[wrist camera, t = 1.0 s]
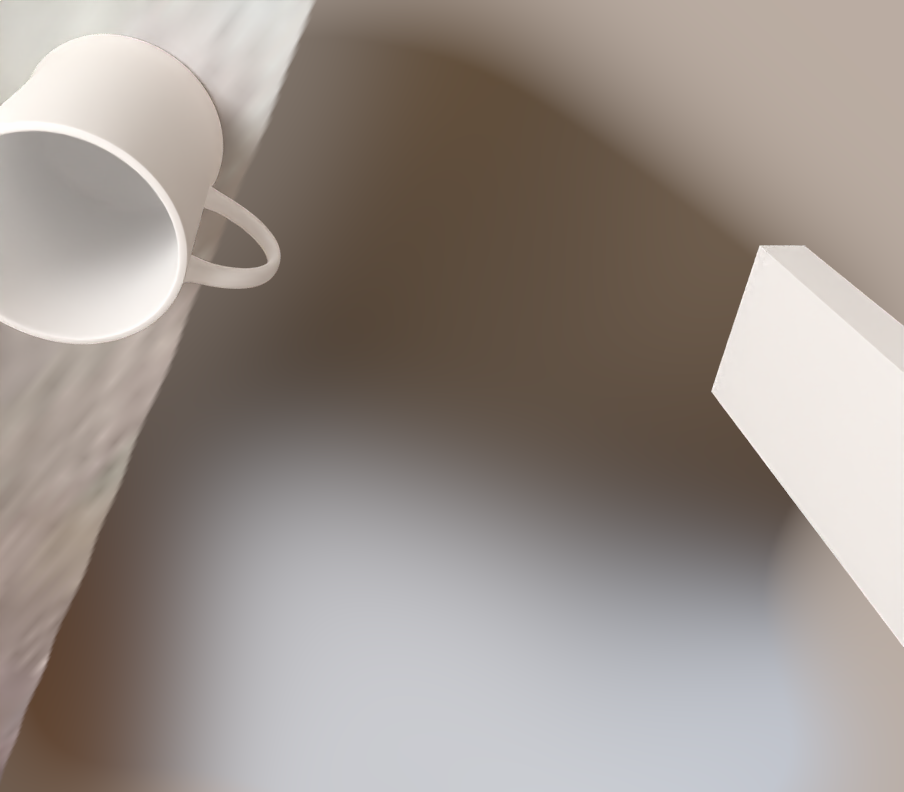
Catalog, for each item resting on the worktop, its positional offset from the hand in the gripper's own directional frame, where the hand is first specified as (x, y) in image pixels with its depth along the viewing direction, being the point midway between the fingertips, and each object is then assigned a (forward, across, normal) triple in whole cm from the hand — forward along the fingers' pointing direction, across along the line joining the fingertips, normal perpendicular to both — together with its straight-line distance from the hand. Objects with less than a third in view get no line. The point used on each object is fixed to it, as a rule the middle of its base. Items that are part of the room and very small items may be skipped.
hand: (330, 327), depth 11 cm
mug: (+28, -7, -7) cm, 30 cm away
